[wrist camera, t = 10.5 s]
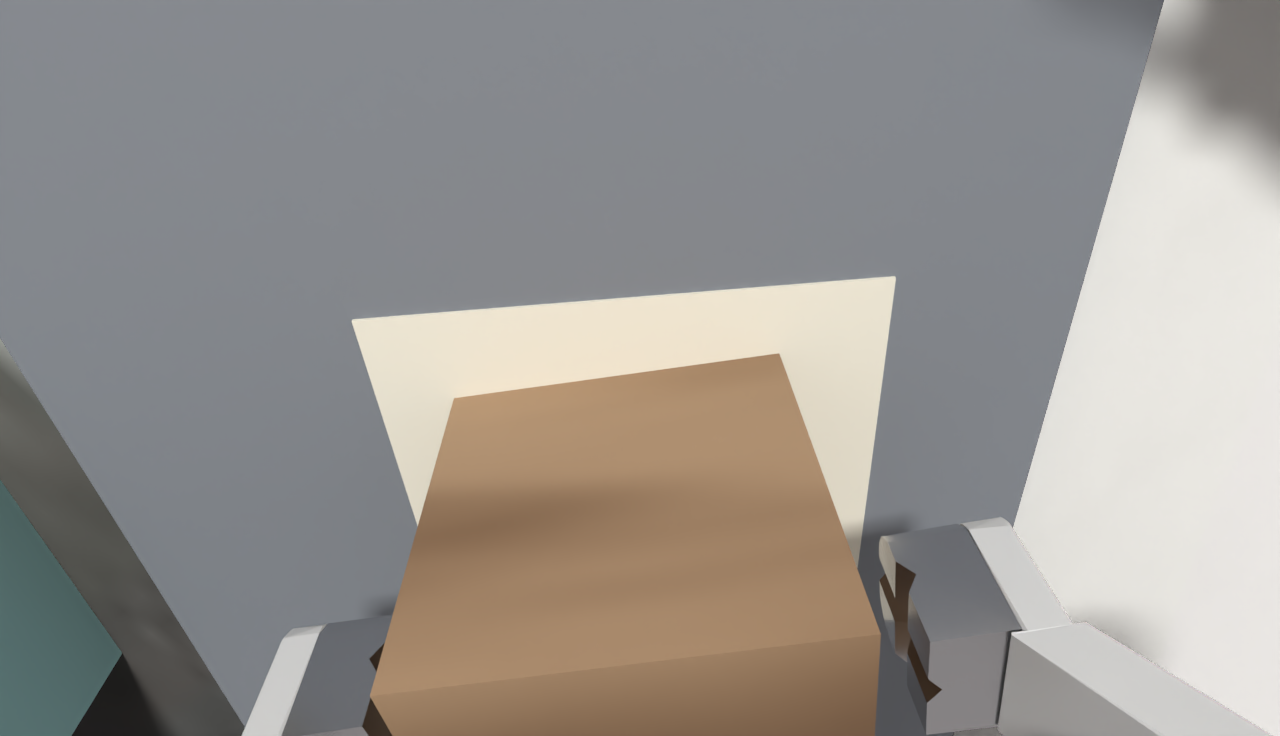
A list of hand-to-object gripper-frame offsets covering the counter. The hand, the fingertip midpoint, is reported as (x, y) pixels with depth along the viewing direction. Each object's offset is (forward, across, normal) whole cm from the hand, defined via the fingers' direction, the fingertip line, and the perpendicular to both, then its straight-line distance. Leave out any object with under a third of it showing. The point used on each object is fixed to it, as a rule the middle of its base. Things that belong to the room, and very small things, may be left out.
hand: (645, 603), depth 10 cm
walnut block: (+2, 0, 0) cm, 2 cm away
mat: (+2, +1, +2) cm, 3 cm away
